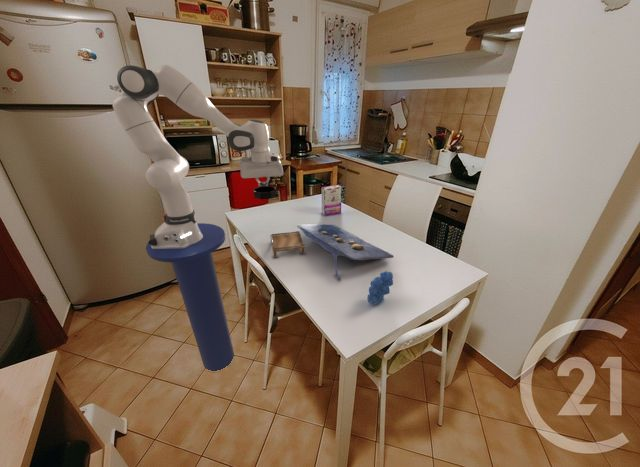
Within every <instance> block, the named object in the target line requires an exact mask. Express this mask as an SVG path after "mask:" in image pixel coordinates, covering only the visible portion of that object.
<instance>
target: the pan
mask: <svg viewBox="0 0 640 467" xmlns="http://www.w3.org/2000/svg"><path fill="white" fill-rule="evenodd" d="M260 182H261V183H262V186H257V187H254V188H253V196H254V199H257V200H270V199H274V198H275V197H277V188H276V187H275V186H271V185H268V186H265V181H260Z"/></svg>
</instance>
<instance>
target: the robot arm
mask: <svg viewBox="0 0 640 467" xmlns="http://www.w3.org/2000/svg"><path fill="white" fill-rule="evenodd" d="M116 79H117V84H118V86H119V88H120V89H121V90H122V92H123V93H122V95H119V96H117V97H115V98H114V100H113V102H112V110H113V111H114V113H115V115H116V118H117V119H118V121H119V123H120V124H121V127H122V128H123V129H124V131H125V132H126V134H127V136H128V137H129V139H130V140H131V141H132V143H133V144H134V146H135V148H137V150H138V151H139V152H141V153H143V154H144V155H146V156H147V158H149V159H150V160H151V161H152V162H153V163H152V164H151V165H149V167H148V168H147V170H146V171H145V179H146V182H147V183H148V184H149V185H150V186H151V187H152V188H154V189H156V191H157V193H158V194H159V196H160V198H161V200H162V203H163V206H164V209H165V211H164V213H163V216H162V221H163V223H161V224H160V225H159V226H158V227H157V228H156V230H155V232H154V233H153V234H150V235H149V241H148V242H149V244H150V245H151V248H152V249H182V248H186V247H188V246H189V245H192V244H194V243H196V242H198V241H200V240H201V239H202V238H203V235H202V233H201V231H200V229H199V227H198V225H197V223H198V222H197V214H196V212H195V209H194V207H193V203H192V199H191V195H190V194H189V192H187V191H186V189H185V187H184V185H183V181H182V180H183V179H184V178H185V177H187V175H188V173H189V170H190V163H189V162H188V160H187V159H186V158H185V157H183V156H182V155H180V154H179V153H178V151H177V150H176V149H175V148H174V147H173V146H172V145H171V144H170V143H169V142H168V140H167V139H166V137H165V136H164V134H163V132H162V131H161V130H160V128H159V126H158V125H157V123H156V122H155V120H154V119H153V116H152V114H150V112H149V110H148V107H149V106H150V105H151V104H152V103H153V102H155V101H156V100H157V99H158V97H159V95H161V96H164V97H166V98H167V99H168V100H170V101H171V102H173V103H174V105H176V106H177V107H178V108H180V109H181V110H183V111H184V112H186V113H187V114H189V115H191V116H193V117H197V118H201V119H204V120H206V121H208V122H210V123H211V124H213V125H214V126H215V127H216V128H218V130H220V131H221V132H223V133H224V134H225V135H226V136H227V143H228V145H229V148H231V149H232V150H234V151H236V152H244V151H248V150H250V157H241V158H240V159H239V160H238V163H237V164H238V167H239V168H240V177H241V178H242V179H255V181H256V182H257V183H258V184H257V185H258V187H260V186H262V183H261V182H262V181H260V180H259V178H266V180H265V181H264V182H265V186H269V182H270V180H271V177H283V176H284V167H283V164H282V162H281V157H280V155H278V154H277V153H274V152H271V149H270V146H269V143H270V137H269V129H268V125H267V124H266V123H265V122H264V121H262V120H259V119H249V120H248V121H247V122H246V123H243V124H242V125H240V124H236V123H235V122H233V121H232V120H231V119H229V117H227V116H226V115H225V114H223V113H222V112H221V111H220V110H219V109H218V108H217V107H216V106H215V105H214V104H213V103H212V101H211V100H210V99H209V98H208V96H207V95H206V94H205V93H204V92H203V91H202V90H201V88H199V87H198V86H197V84H195V83H194V82H193V81H192V80H191V79H189V78H188V77H187V76H186V75H185V74H183V73H181V72H180V71H179V70H177V69H176V68H174V67H172V66H171V65H168V64H163V65H160V66H159V67H158V68H156V70H155V71H152V70H151V69H147V68H144V67H141V66H138V65H131V64H130V65H129V64H128V65H124V66H122V67H121V68H120V69H119V70H118V71H117V75H116Z"/></svg>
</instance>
